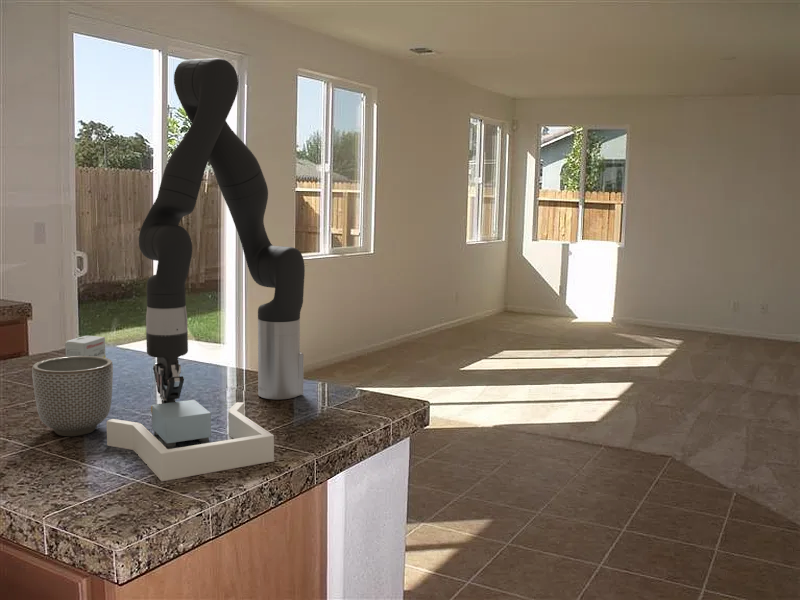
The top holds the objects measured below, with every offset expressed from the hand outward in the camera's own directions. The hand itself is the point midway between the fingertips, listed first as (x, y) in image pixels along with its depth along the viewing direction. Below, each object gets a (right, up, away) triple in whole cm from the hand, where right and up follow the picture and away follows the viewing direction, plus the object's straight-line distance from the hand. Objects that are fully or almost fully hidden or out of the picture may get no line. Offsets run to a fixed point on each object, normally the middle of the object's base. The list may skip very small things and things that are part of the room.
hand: (169, 418), depth 153 cm
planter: (-17, -2, -4) cm, 17 cm away
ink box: (-26, +2, +26) cm, 37 cm away
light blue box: (+4, -3, -6) cm, 8 cm away
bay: (+9, -4, -13) cm, 16 cm away
